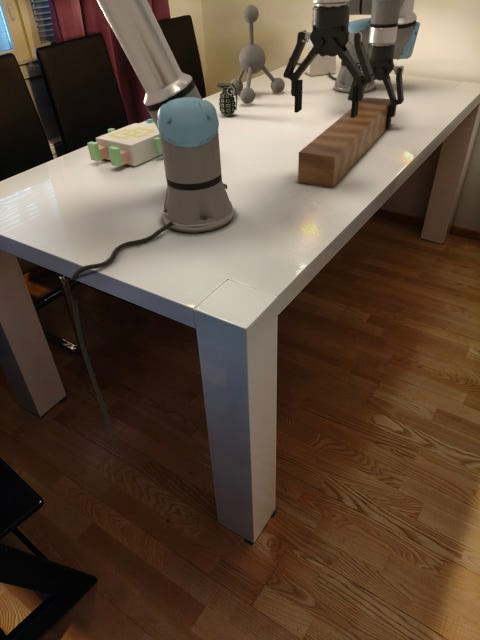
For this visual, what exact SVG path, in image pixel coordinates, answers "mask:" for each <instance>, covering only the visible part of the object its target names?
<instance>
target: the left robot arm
mask: <svg viewBox="0 0 480 640" xmlns="http://www.w3.org/2000/svg"><path fill="white" fill-rule="evenodd" d="M349 1H350V0H312V3H313V2H314V3H315V4H316V6H314V8H313V20H312V19H311V31H310V32H309V31H307V30H306V29H304V30H301V31H298V33H297V37H296V44H295V46H294V49H293V51H292V54H291V56H290V57H291V58H290V57H289V58H290V60H289V59H288V62H287V64H286V67H285V69H284V71H283V74H282V76H283V78H284V79H288V80H290V91H291V92H290V94H291V97H294V105H293V106H294V108H293V109H294V111H293V112H294V113H296V114H297V113H299V112H301V111H302V110H303V83H304V82H303V79H300V78H301V76H302V75H303V74H304V73H305V70H306V69H307V67H308V66H309V65H310V64H311V62H312V61H313V60H314V58H315V57H316V56H317V55H318V54H319V55H320V56H326V55H328V56H333V57H334V56H336V57H338V58H339V59H340V61H341V60H342V61H343V63H344V64H345V66H346V67H347V69H348V71H349V72H350V74H351V75H352V77H353V78H354V80H355V82H356V83H357V84H356V85H354V86H353V96H352V101H351V106H350V107H351V108H350V109H351V118H354V117H355V116H357V115H358V105H359V101H362V100H363V99H364V98H365V92H364V89H365V84H367V83H370V82H371V81H373V80H374V78H375V77H374V74H373V71H372V68H371V65H370V62H369V59H368V56H367V53H366V50H365V47H364V44H363V32H362V31H360V32H358V33H351V34H350V33H349V30H348V27H349V22H350V16H351V15H350V7H349V5H347V2H349ZM96 2H97V3H98V5H99V7H100V9H101V11H102V12H103V14H104V17H105V18H106V20H107V22H108V24H109V26H110V28H111V30H112V31H113V34H114V36H115V37H116V40H117V41H118V42H119V45H120V47H121V49H122V50H123V52H124V54H125V56H126V58H127V60H128V61H129V63H130V65H131V67H132V69H133V71H134V73H135V74H136V76H137V78H138V80H139V82H140V85H142V88H143V90H144V91H145V95H144V99H143V104H144V106H145V108H146V110H147V112H148V114H149V115H150V117H151V119H153V121H154V123H155V124H156V126H157V128H158V131H159V133H160V140H161V147H162V153H163V154H162V159H163V168H164V174H165V180H166V190H165V191H166V192H165V196H164V203H163V207H162V218H163V222H164V224H165V225H163V226H162V227H160V228H159V229H157V230H155V232H153V233H152V234H150V235H149V236H147V237H144V238H140V239H135V240H130V241H126V242H123V243H121V244H119V245H118V246H116V247H115V248H114V249H113V250H112V252H111V254H110V256H109V257H108V258H107V259H106V260H104V261H102V262H97V263H92V264H86V265H83V266H81V267H79V268H78V269H77V270H75V272H73V274H72V275H71V278H70V281H75V280H77V278H78V277H79V276H80V275H81V273H82V274H83V272H85V271H89V270H94V269H95V270H96V269H100V268H105V267H106V266H108V265H110V264H111V263H113V261H114V260H115V258H116V256H117V255H118V253H119V252H120V251H121V250H123V249H125V248H127V247H131V246H135V245H141V244H144V243H145V244H146V243H148V242H150V241H152V240H154V239H155V238H157V237H158V236H159V235H160V234H162V233H164V232H165V231H166V230H168V229H171V230H173V231H177V232H180V233H190V234H191V233H192V234H193V233H194V234H195V233H196V234H197V233H205V232H206V233H207V232H210V231H215V230H216V229H220V228H222V227H224V226H226V225H227V224H228V223H230V221H231V220H232V218H233V216H234V212H233V211H234V210H233V204H232V201H231V200H230V197H229V195H228V192H227V190H228V184H227V183H224V182H223V175H222V174H223V173H222V164H221V163H222V161H221V147H220V134H219V127H220V122H219V120H220V119H219V117H218V114H217V109H216V107H215V105H214V104H213V103H212V102H210V101H209V100H207V99H203V98H202V96H201V94H200V91H199V90H198V87H197V85H196V83H195V81H194V79H193V77H192V75H190V74H187V73H185V72H183V71H182V70H181V68H180V66H179V64H178V62H177V60H176V57H175V56H174V53H173V51H172V49H171V47H170V45H169V43H168V41H167V39H166V37H165V35H164V32H163V30H162V28H161V26H160V24H159V22H158V20H157V18H156V16H155V14H154V12H153V9H152V7H151V6H150V3H149V1H148V0H96ZM310 40H311V42H312V44H313V46H314V47H313V48H312V49H311V51H310V52H309V53H308V55H307V57H306V58H305V57H304V59H303V60H302V62H300V63H301V64H300V65H298V67H297V63H299V60H300V58H301V55H302V54H303V51H304V49H305V46H306V45H307V44H308V43H309V41H310ZM349 40H351V42H352V44H353V45H354V47H355V51H356V54H357V57H358V60H359V63H360V66H361V69H362V72H363V74H364V75H363V74H362V72H361V71H360V69H359V68H358V66H357V64H356V63H355V61H354V60H353V58H352V56H351V55H350V52H349V50H348V49H347V47H346V44H347V42H348V41H349ZM296 67H297V68H296ZM374 81H375V80H374ZM71 304H72V312H73V313H72V314H73V320H74V323H75V325H74V326H75V330H76V334H77V338H78V342H79V346H80V349H81V353H82V356H83V359H84V362H85V365H86V369H87V371H88V374H89V377H90V380H91V383H92V386H93V388H94V391H95V394H96V397H97V400H98V402H99V405H100V408H101V411H102V414H103V416H104V420H105V423H106V426H107V429H108V432H109V436H110V439H111V440H114V439H115V438H116V435H115V432H114V430H113V426H112V422H111V420H110V416H109V414H108V410H107V408H106V405H105V402H104V399H103V396H102V393H101V390H100V388H99V385H98V382H97V379H96V376H95V373H94V370H93V367H92V364H91V361H90V357H89V354H88V350H87V347H86V344H85V340H84V335H83V330H82V327H81V326H82V325H81V321H80V316H79V308H78V301H77V300H75V299H71Z"/></svg>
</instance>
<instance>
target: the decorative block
mask: <svg viewBox="0 0 480 640" xmlns="http://www.w3.org/2000/svg"><path fill="white" fill-rule="evenodd" d="M86 145H87V149H88V153H89V157H90V160H91V161H93V162H94V161H95V162H100V161H103V160H107V161H110V164H111V166H114V167H119V168H120V167H122V166H124V165H127V166H132V167H137V166H139V165H141V164H145V163H146V162H148V161H150V160H153V159H155V158H157V157H159V156H161V155H163V153H162V147H161V140H160V133H159V131H158V128H157V126H156V124H155V123H154V121H153V119H152V118H148V119H146V120H144V121H141V122H139V123H138V122H133V123H132V124H128V125H126V126H123V127H121V128H118V129H116V128H113V127H110V128H108V129H107V133H104V134H101V135H99V136H97V137H95V141H89V142H87V143H86Z"/></svg>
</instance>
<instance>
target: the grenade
mask: <svg viewBox="0 0 480 640" xmlns="http://www.w3.org/2000/svg"><path fill="white" fill-rule="evenodd" d="M215 87H217V88H219V89H221V93H219V97H218V101H219V102H218V106H219V108H218V109H219V112H220V114H221V115H222V116H224V117H231V116H233V115H234V113H235V112H236V111H237V108H238V94H237V90H236V87H235V85H234V84H233V83H230V82H218V83H217V84H216V86H215ZM232 90H234V91H235V93H234V92H231V91H232ZM234 94H235V96H234Z"/></svg>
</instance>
